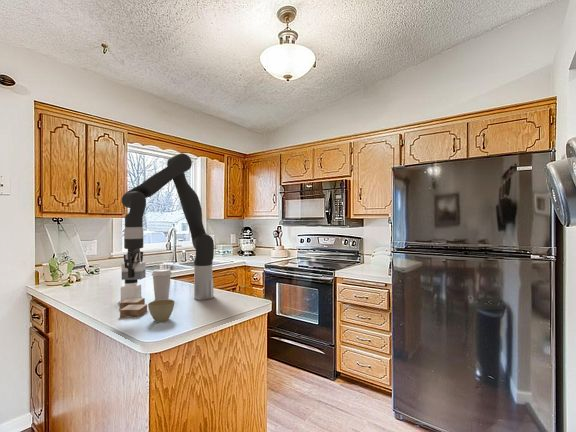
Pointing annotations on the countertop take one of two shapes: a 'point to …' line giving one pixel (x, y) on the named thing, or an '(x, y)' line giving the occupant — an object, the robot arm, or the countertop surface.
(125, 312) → the stand
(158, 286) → the coffee cup
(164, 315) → the beige round bowl
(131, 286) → the medicine bottle
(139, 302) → the stand
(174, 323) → the countertop surface
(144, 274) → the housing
